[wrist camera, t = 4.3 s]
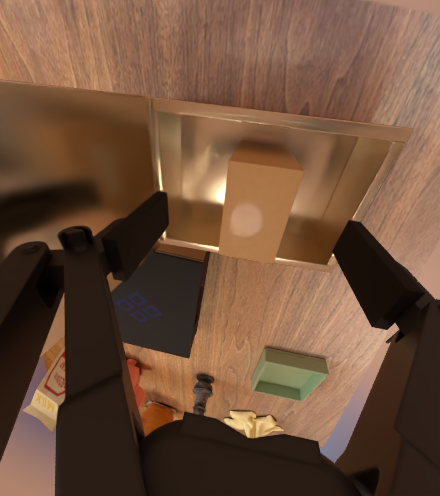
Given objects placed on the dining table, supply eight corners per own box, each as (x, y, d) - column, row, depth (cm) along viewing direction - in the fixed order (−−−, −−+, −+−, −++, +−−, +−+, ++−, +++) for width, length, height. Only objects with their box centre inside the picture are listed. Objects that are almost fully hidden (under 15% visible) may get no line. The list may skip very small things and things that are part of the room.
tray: (325, 359, 44) (329, 374, 41) (300, 388, 53) (302, 402, 50) (265, 347, 44) (265, 361, 42) (251, 377, 54) (251, 390, 51)
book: (213, 236, 30) (203, 263, 24) (197, 328, 44) (189, 358, 39) (103, 211, 30) (69, 233, 25) (123, 310, 45) (105, 337, 40)
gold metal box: (370, 123, 19) (415, 128, 14) (316, 239, 28) (331, 273, 22) (175, 99, 21) (144, 96, 15) (178, 217, 29) (159, 243, 23)
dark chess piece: (207, 373, 56) (197, 428, 47) (218, 382, 59) (211, 436, 49) (191, 375, 59) (178, 427, 49) (203, 384, 61) (192, 436, 52)
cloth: (223, 421, 79) (220, 442, 74) (227, 405, 68) (224, 428, 63) (279, 434, 77) (281, 457, 72) (293, 419, 66) (296, 444, 61)
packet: (286, 147, 21) (304, 170, 13) (268, 215, 26) (273, 264, 18) (239, 140, 21) (228, 160, 13) (230, 209, 26) (217, 254, 18)
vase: (195, 411, 77) (167, 550, 53) (174, 419, 88) (143, 538, 64) (146, 391, 73) (90, 532, 48) (130, 402, 84) (79, 522, 60)
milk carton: (125, 315, 46) (53, 427, 30) (130, 336, 51) (71, 441, 35) (88, 306, 46) (-3, 412, 30) (97, 329, 52) (24, 428, 36)
